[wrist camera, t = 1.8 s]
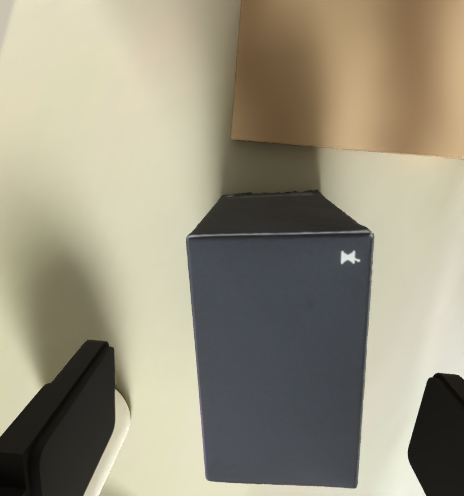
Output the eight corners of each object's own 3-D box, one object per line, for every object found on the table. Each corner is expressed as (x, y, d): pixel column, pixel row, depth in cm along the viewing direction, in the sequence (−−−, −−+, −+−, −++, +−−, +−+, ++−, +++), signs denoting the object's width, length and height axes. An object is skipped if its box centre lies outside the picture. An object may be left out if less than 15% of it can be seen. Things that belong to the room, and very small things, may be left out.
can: (90, 356, 25) (-54, 533, 13) (150, 418, 26) (65, 633, 14) (30, 401, 26) (-149, 597, 15) (89, 458, 27) (-33, 684, 16)
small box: (213, 193, 21) (174, 229, 11) (322, 188, 21) (385, 222, 11) (222, 348, 24) (198, 490, 14) (319, 347, 23) (367, 494, 13)
